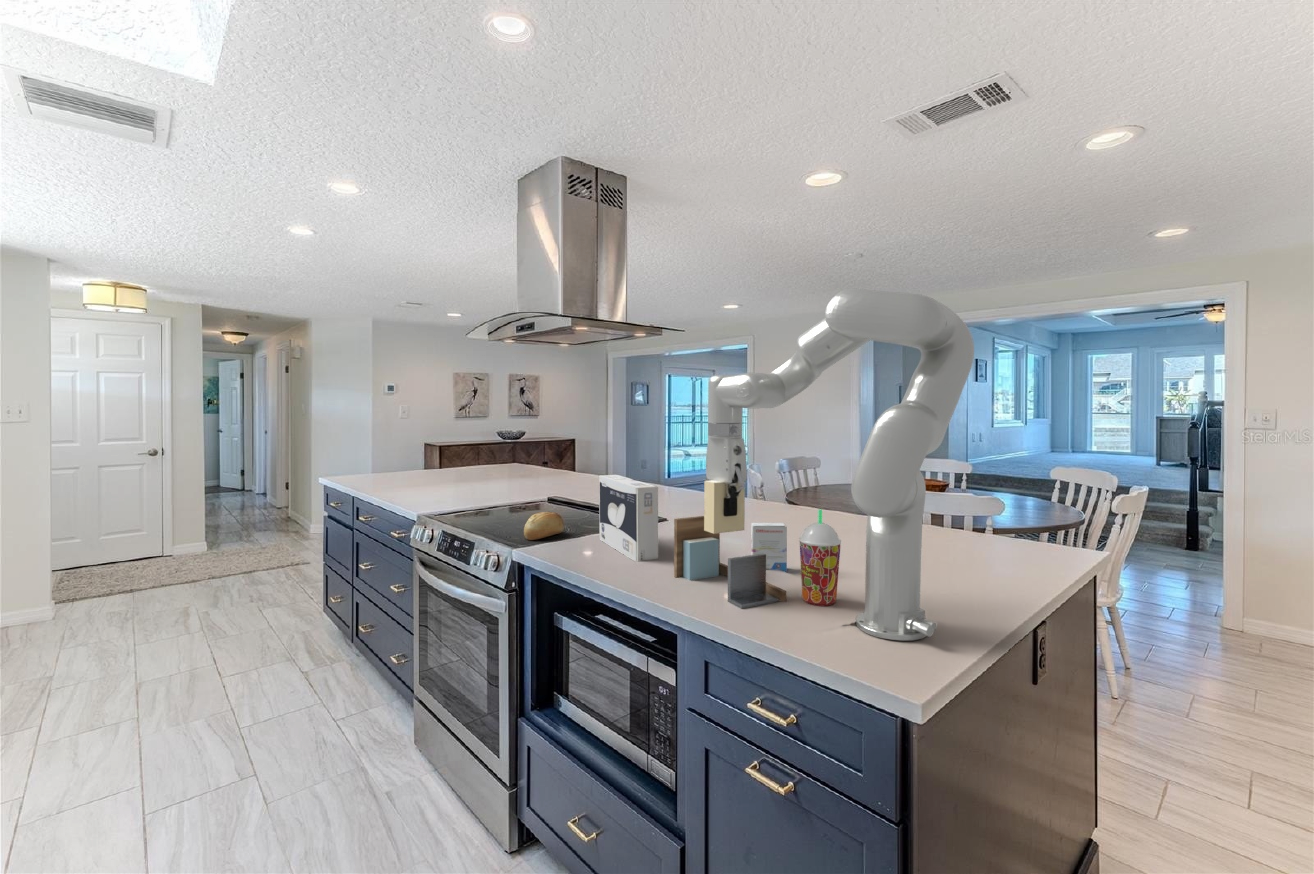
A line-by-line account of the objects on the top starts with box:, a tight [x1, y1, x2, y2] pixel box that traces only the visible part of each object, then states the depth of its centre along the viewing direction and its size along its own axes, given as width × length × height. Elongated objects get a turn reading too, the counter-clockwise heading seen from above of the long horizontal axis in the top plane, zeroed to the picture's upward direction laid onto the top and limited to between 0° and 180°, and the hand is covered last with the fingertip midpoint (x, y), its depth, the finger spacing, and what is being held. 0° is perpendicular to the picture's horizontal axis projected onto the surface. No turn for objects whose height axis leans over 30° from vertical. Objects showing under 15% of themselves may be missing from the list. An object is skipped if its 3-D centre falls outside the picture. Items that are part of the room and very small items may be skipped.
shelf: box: [673, 515, 787, 602], centre depth 132 cm, size 27×12×15 cm, turn 27°
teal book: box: [682, 537, 720, 581], centre depth 141 cm, size 3×8×9 cm, turn 117°
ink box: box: [750, 522, 788, 573], centre depth 149 cm, size 9×5×12 cm, turn 84°
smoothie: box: [798, 509, 842, 607], centre depth 123 cm, size 8×8×20 cm
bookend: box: [727, 554, 779, 610], centre depth 122 cm, size 5×9×9 cm, turn 117°
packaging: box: [598, 474, 659, 563], centre depth 170 cm, size 30×6×20 cm, turn 25°
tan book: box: [703, 480, 746, 534], centre depth 131 cm, size 4×8×11 cm, turn 117°
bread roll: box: [523, 511, 565, 541], centre depth 188 cm, size 10×15×8 cm, turn 146°
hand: (724, 513), depth 131 cm, fingers closed on tan book, 4 cm apart
